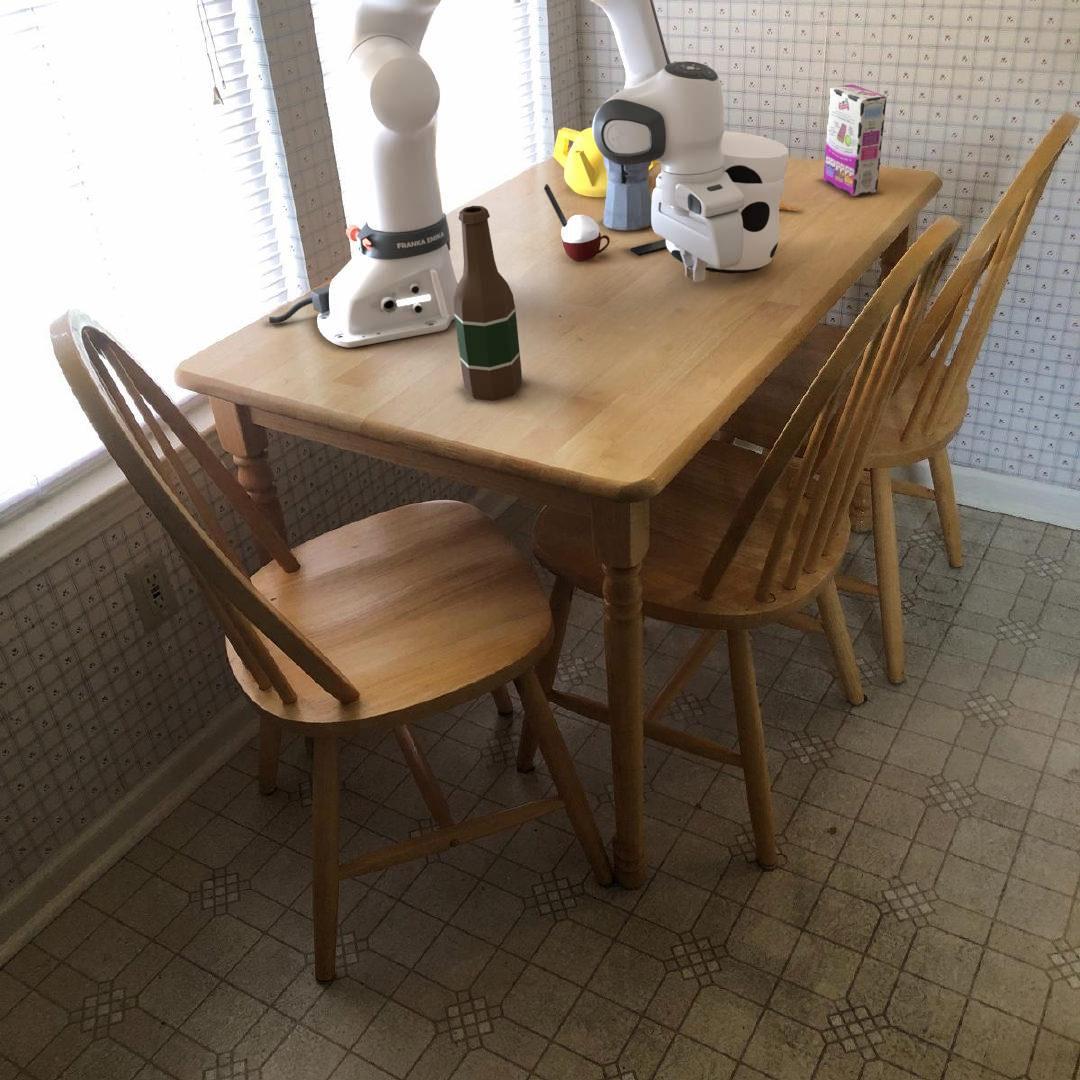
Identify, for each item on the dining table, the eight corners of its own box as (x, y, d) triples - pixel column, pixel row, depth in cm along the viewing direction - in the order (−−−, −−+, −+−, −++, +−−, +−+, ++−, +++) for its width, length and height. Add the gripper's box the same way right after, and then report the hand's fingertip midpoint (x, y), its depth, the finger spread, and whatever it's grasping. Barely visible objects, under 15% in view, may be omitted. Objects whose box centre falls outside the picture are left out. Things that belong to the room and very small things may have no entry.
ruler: (639, 255, 182) (639, 253, 182) (630, 250, 184) (630, 247, 184) (771, 220, 190) (771, 218, 190) (761, 216, 193) (761, 213, 192)
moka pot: (658, 208, 200) (656, 91, 188) (656, 239, 187) (654, 116, 176) (604, 210, 201) (599, 94, 189) (599, 242, 188) (594, 119, 177)
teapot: (662, 192, 206) (661, 126, 200) (574, 206, 204) (570, 139, 197) (634, 167, 220) (633, 104, 213) (552, 180, 217) (548, 116, 211)
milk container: (773, 252, 180) (796, 137, 170) (771, 289, 166) (796, 166, 156) (667, 237, 182) (683, 123, 172) (656, 273, 168) (673, 150, 158)
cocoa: (614, 254, 183) (611, 181, 176) (594, 268, 179) (590, 194, 172) (566, 246, 188) (561, 175, 181) (545, 259, 184) (539, 186, 177)
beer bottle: (522, 372, 151) (505, 195, 137) (523, 399, 145) (505, 217, 131) (465, 377, 151) (442, 201, 137) (463, 404, 145) (439, 223, 131)
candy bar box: (879, 193, 197) (888, 96, 188) (853, 198, 196) (862, 100, 187) (846, 175, 206) (853, 82, 197) (821, 180, 205) (828, 86, 196)
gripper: (638, 173, 165) (643, 262, 173) (711, 209, 149) (712, 306, 157) (675, 164, 167) (678, 253, 175) (751, 198, 151) (750, 295, 159)
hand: (695, 278), depth 166 cm, fingers closed
